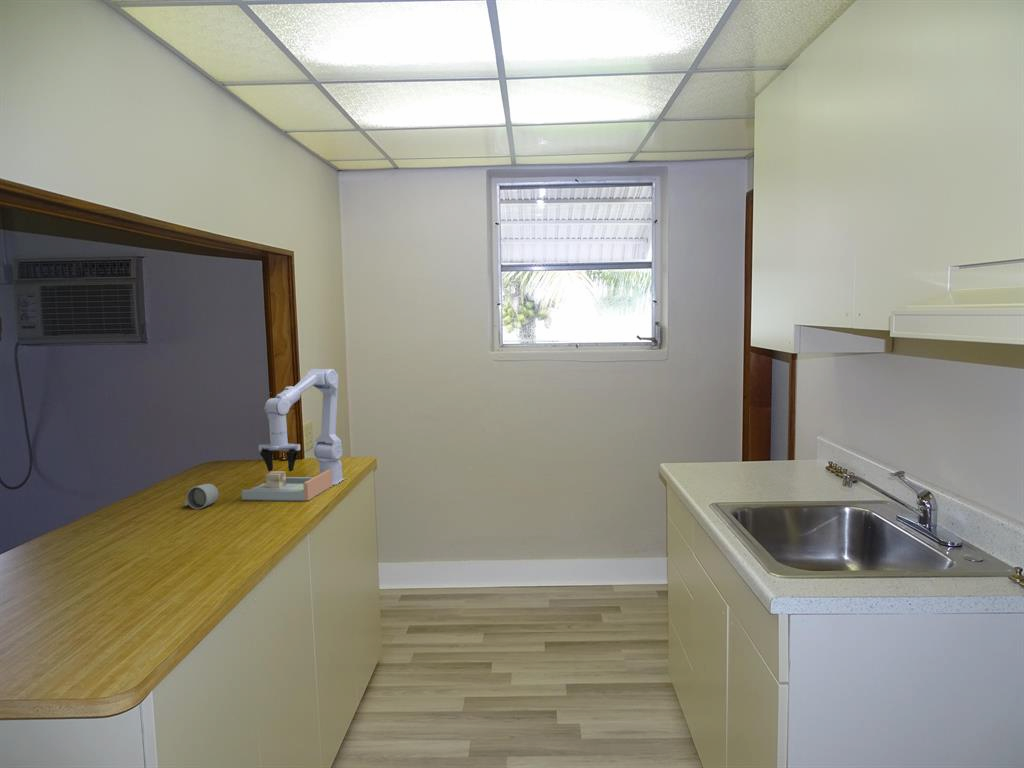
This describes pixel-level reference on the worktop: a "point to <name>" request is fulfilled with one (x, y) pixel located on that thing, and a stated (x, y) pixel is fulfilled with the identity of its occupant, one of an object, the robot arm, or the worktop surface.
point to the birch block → (275, 479)
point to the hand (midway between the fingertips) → (280, 470)
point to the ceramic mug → (201, 496)
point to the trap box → (292, 489)
